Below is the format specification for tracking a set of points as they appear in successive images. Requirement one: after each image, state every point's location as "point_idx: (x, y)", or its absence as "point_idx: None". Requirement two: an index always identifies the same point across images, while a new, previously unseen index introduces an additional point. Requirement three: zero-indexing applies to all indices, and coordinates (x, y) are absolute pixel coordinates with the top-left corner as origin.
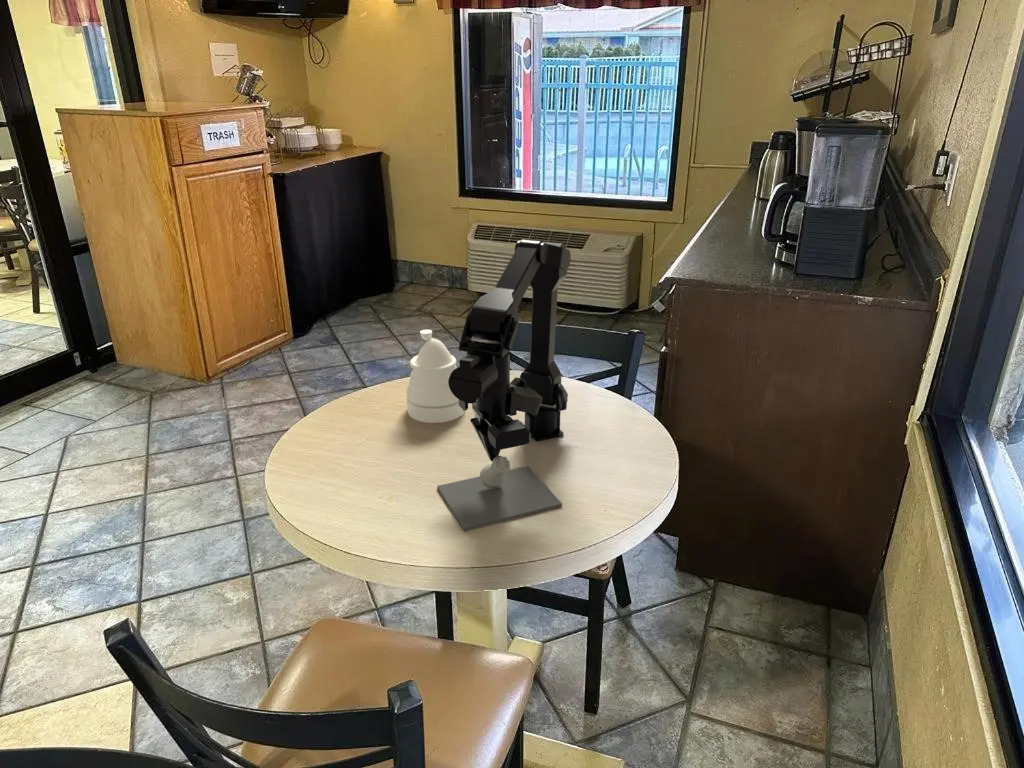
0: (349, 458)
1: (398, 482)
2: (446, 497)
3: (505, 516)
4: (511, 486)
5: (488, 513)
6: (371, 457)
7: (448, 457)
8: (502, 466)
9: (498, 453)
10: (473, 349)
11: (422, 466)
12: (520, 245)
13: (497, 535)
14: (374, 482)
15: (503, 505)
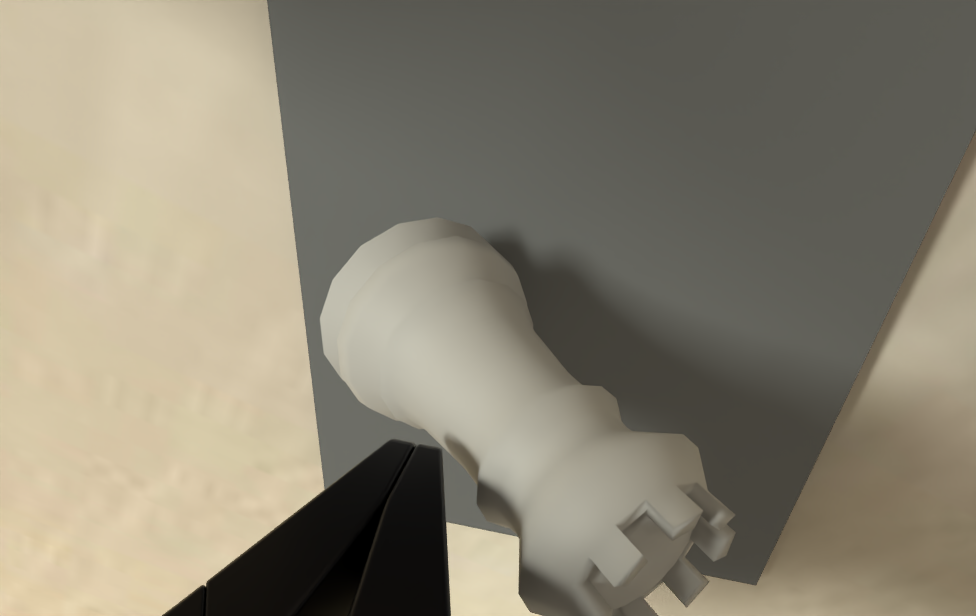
0: (24, 591)
1: (231, 560)
2: (448, 516)
3: (834, 389)
4: (517, 160)
5: (724, 445)
6: (19, 543)
7: (30, 304)
8: (677, 553)
9: (444, 526)
10: None
11: (112, 441)
12: None
13: (927, 483)
14: None
15: (709, 335)
